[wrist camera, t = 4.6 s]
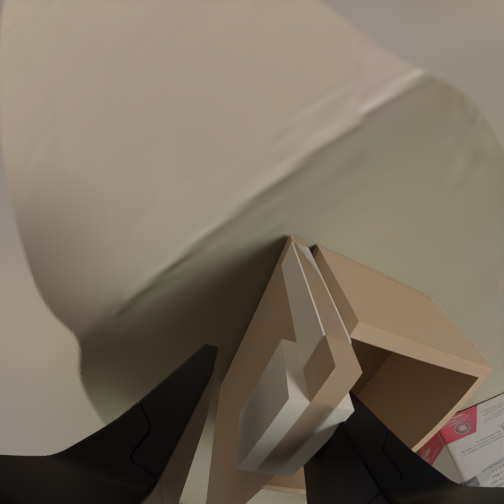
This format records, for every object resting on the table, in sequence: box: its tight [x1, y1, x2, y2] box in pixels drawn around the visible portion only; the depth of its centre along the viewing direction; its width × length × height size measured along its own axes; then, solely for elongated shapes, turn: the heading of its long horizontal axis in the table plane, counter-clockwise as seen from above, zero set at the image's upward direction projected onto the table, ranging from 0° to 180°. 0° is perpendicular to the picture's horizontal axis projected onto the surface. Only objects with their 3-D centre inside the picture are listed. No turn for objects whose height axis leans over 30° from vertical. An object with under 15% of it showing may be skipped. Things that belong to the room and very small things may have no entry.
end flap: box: [206, 235, 363, 504], centre depth 10 cm, size 9×2×8 cm, turn 159°
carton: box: [262, 245, 493, 494], centre depth 12 cm, size 9×7×6 cm
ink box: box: [419, 393, 504, 487], centre depth 13 cm, size 9×5×12 cm, turn 95°
